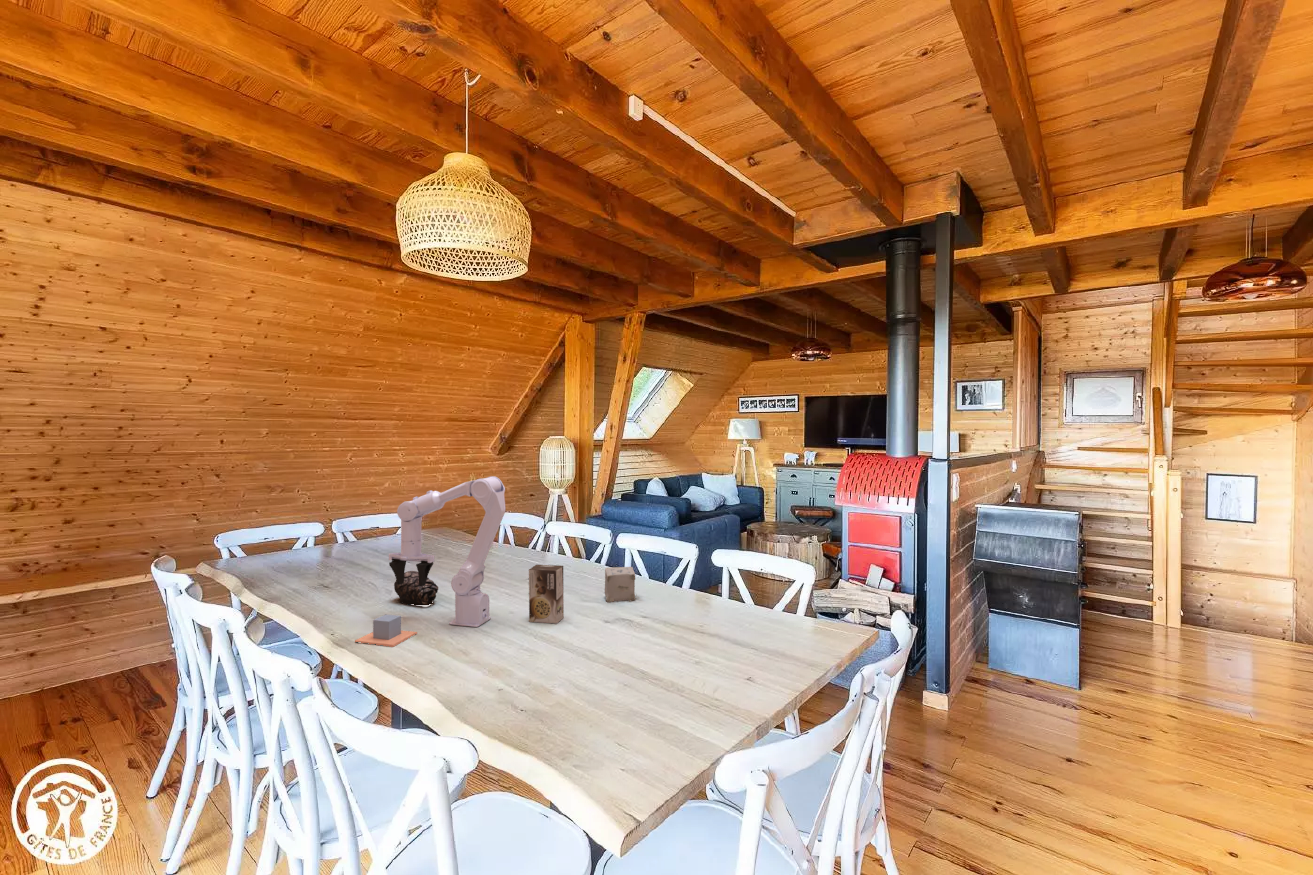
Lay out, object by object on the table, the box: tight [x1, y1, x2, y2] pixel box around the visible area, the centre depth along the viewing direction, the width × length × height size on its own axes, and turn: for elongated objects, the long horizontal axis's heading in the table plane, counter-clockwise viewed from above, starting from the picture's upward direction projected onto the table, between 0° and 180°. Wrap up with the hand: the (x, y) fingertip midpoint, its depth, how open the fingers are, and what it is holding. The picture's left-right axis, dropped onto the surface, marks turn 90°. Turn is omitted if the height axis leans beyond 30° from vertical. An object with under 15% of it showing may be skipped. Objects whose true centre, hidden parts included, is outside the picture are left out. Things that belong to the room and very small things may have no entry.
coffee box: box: [528, 564, 565, 624], centre depth 178 cm, size 9×6×16 cm
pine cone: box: [393, 570, 439, 605], centre depth 195 cm, size 10×18×10 cm, turn 63°
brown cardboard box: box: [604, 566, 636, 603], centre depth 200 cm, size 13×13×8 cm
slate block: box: [372, 614, 402, 640], centre depth 162 cm, size 5×5×5 cm
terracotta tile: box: [354, 629, 418, 648], centre depth 162 cm, size 12×10×1 cm
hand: (411, 584), depth 178 cm, fingers open, 7 cm apart
